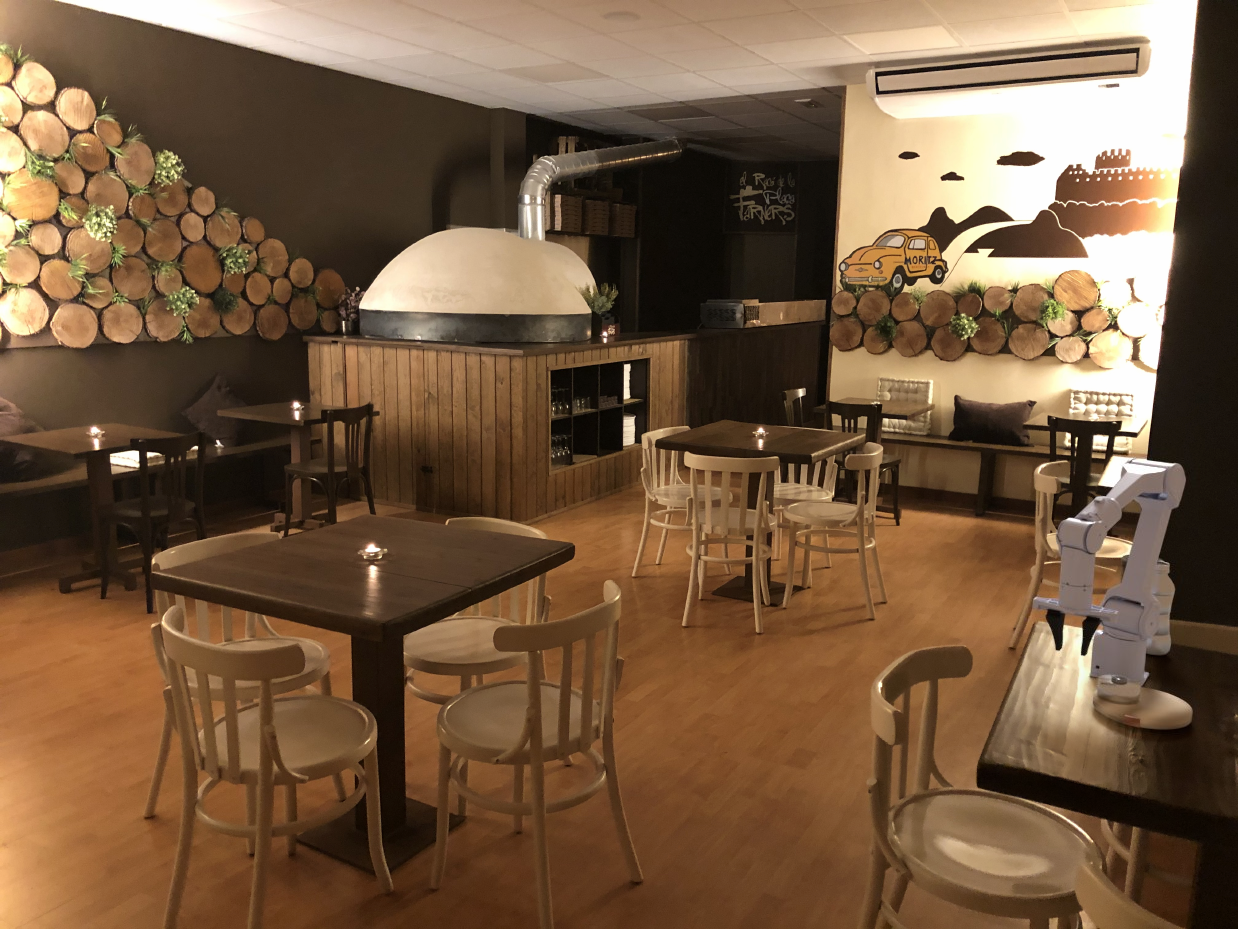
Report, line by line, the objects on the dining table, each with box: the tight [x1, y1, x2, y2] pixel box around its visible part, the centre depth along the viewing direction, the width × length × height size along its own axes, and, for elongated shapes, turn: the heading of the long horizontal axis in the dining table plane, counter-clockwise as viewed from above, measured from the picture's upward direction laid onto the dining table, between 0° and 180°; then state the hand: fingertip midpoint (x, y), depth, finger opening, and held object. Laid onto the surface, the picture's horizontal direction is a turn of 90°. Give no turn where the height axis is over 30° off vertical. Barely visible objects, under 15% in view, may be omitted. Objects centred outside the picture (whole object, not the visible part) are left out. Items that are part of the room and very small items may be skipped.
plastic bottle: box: [1141, 561, 1176, 656], centre depth 207 cm, size 6×7×20 cm
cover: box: [1096, 675, 1141, 705], centre depth 179 cm, size 7×7×4 cm
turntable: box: [1092, 686, 1194, 730], centre depth 177 cm, size 16×16×2 cm
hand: (1071, 651), depth 184 cm, fingers open, 4 cm apart
